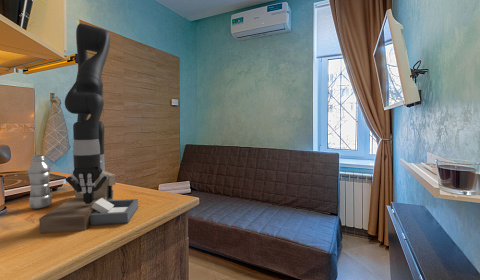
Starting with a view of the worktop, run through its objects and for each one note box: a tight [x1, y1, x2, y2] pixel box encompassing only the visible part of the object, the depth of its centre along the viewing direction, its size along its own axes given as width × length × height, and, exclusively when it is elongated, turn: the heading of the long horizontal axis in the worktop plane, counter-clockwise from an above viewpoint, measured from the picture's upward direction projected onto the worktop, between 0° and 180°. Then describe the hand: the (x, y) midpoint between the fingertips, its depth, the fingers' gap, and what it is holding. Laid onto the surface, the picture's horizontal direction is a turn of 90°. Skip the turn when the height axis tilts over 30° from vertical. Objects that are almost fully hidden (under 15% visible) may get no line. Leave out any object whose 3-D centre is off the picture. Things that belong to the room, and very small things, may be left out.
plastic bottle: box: [27, 154, 53, 209], centre depth 88 cm, size 6×7×20 cm
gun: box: [73, 170, 116, 200], centre depth 95 cm, size 24×3×15 cm, turn 62°
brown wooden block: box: [38, 197, 107, 234], centre depth 78 cm, size 18×12×4 cm, turn 11°
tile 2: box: [108, 207, 128, 213], centre depth 81 cm, size 5×5×2 cm
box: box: [90, 198, 139, 227], centre depth 81 cm, size 14×11×4 cm
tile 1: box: [92, 198, 114, 213], centre depth 79 cm, size 5×5×2 cm
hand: (88, 203), depth 79 cm, fingers closed
